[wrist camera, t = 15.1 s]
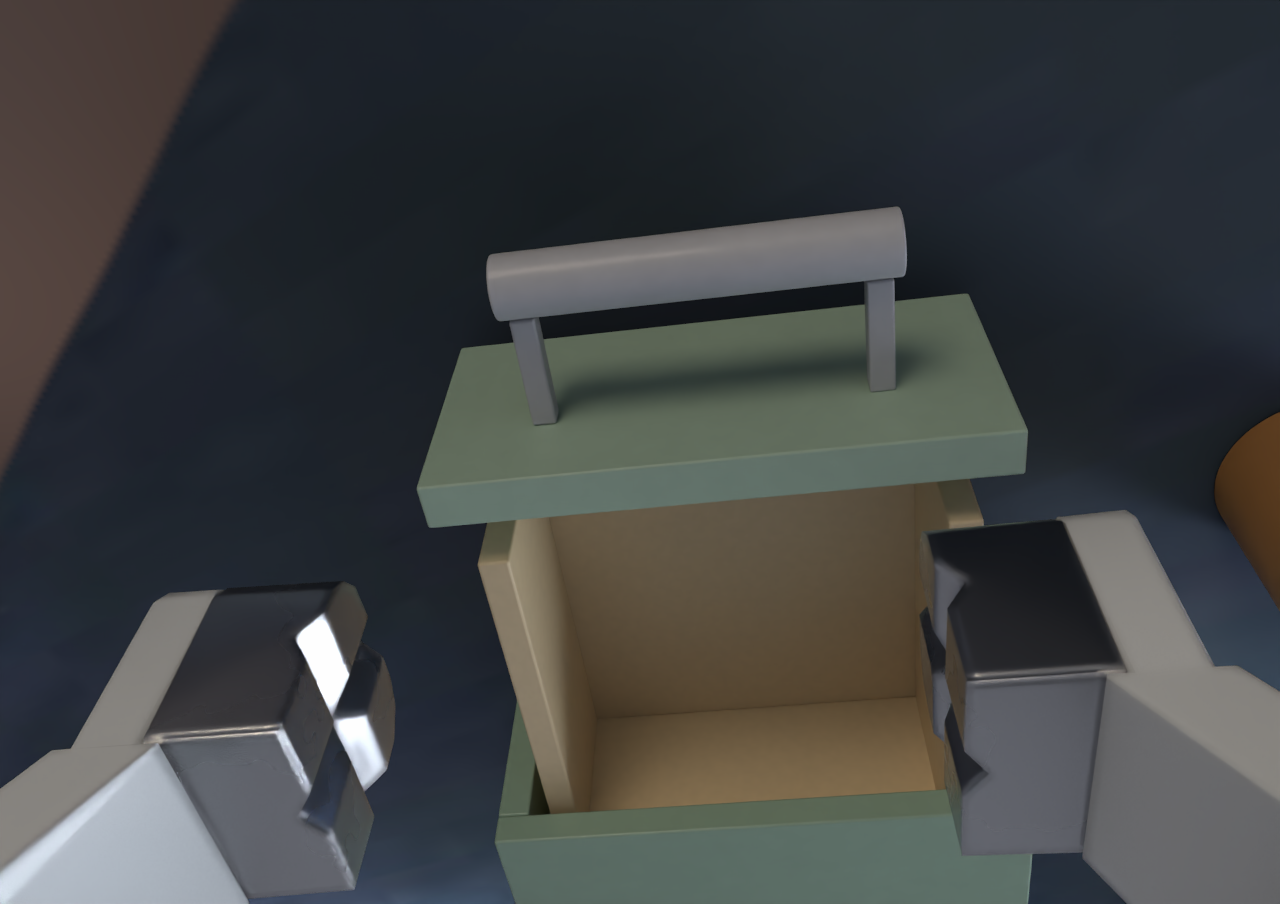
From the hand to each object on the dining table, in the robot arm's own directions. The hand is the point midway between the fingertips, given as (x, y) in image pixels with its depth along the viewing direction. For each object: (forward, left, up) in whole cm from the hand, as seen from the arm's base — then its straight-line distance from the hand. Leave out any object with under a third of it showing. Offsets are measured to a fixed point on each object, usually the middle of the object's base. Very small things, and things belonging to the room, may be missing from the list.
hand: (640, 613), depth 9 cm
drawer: (+14, 0, -20) cm, 24 cm away
